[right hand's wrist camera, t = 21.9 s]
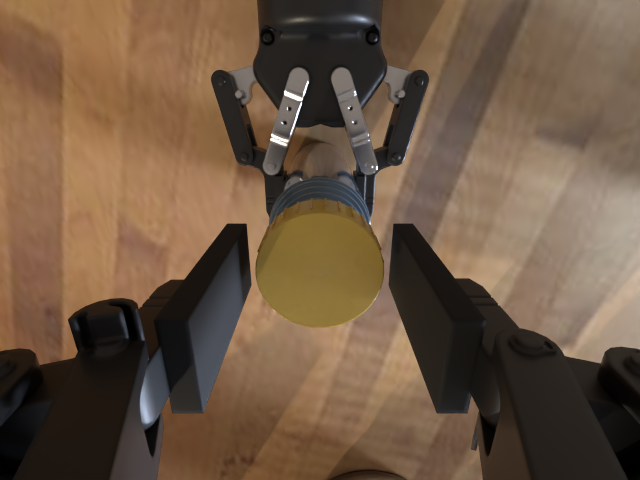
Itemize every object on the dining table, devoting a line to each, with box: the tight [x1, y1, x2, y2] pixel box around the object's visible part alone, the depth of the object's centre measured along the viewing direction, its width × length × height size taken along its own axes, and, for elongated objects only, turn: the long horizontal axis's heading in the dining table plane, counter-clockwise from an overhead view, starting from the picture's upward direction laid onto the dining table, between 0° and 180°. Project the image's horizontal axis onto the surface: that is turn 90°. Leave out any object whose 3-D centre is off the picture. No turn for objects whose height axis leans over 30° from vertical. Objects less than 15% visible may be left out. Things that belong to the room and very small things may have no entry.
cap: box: [256, 198, 384, 328], centre depth 13 cm, size 5×5×2 cm
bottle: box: [269, 142, 371, 226], centre depth 22 cm, size 5×5×20 cm
